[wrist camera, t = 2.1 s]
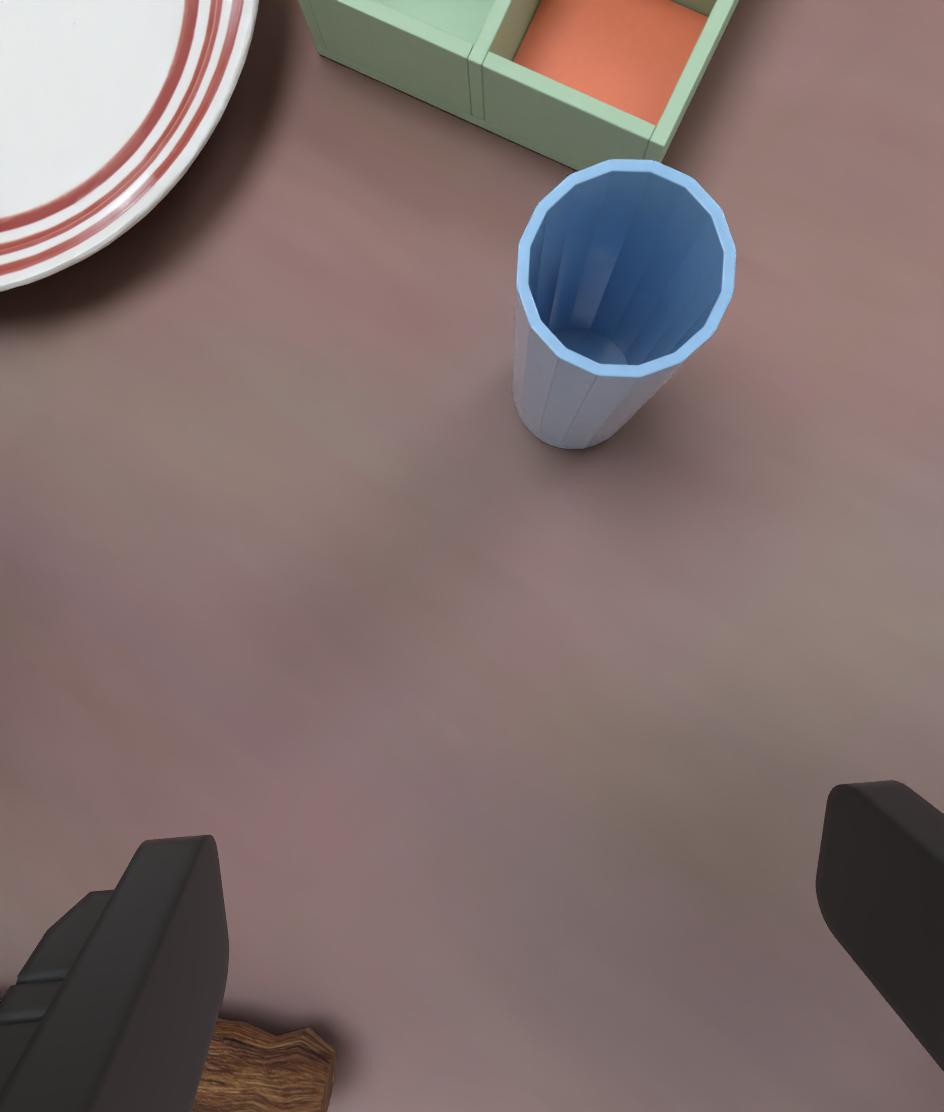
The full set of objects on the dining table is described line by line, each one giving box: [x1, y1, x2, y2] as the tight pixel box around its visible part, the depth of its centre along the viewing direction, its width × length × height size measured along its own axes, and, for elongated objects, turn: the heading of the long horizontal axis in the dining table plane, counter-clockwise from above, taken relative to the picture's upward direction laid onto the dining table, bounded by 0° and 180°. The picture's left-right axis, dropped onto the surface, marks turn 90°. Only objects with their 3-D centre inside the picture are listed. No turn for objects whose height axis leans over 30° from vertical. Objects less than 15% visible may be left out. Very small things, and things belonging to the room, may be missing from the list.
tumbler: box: [512, 159, 736, 449], centre depth 21 cm, size 5×5×12 cm
